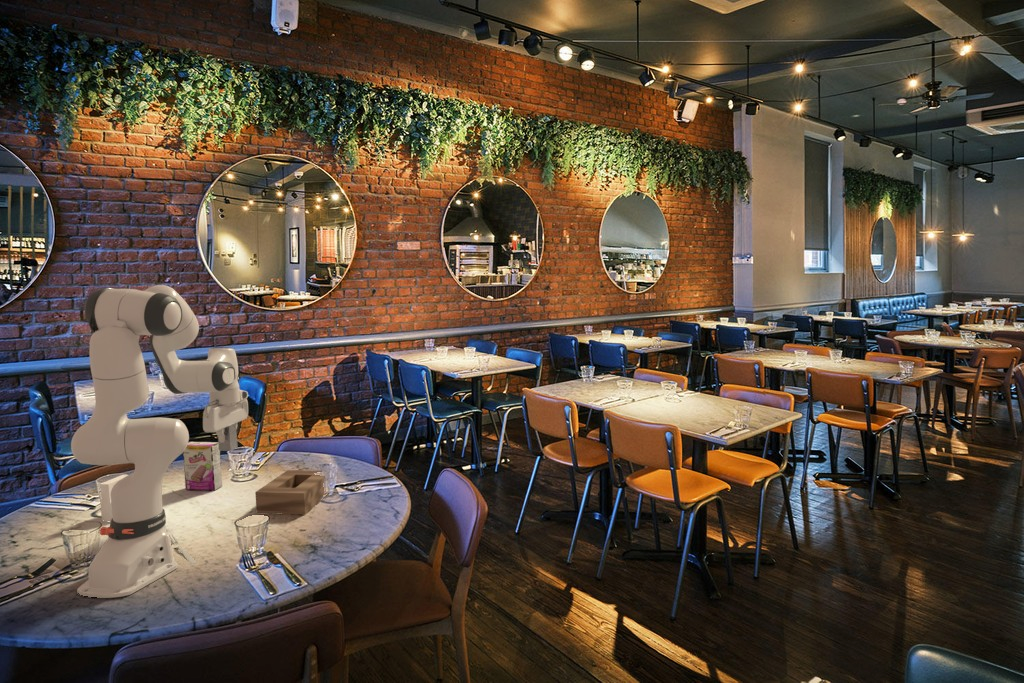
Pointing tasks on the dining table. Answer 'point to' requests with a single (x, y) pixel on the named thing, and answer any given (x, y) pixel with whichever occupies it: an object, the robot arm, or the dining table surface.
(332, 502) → the dining table surface
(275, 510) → the walnut well
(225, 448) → the gray rectangular block
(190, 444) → the candy bar box
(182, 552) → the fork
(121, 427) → the robot arm
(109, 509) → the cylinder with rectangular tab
